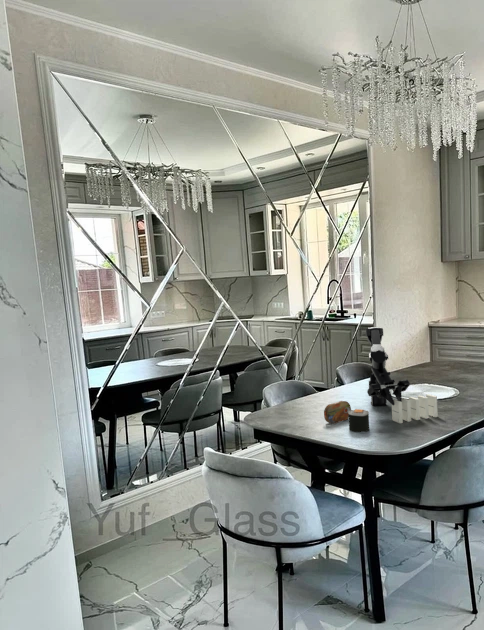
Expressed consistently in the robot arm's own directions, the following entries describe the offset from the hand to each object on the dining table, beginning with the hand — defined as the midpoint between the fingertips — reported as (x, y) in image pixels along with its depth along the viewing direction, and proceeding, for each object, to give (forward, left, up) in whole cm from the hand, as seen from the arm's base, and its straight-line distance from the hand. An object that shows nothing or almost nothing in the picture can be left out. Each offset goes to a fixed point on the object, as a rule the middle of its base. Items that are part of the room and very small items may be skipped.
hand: (397, 404), depth 205 cm
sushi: (-18, -8, -8) cm, 21 cm away
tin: (-25, +5, -8) cm, 27 cm away
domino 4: (+12, +6, -8) cm, 16 cm away
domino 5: (+16, +7, -8) cm, 20 cm away
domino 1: (0, +1, -8) cm, 8 cm away
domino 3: (+8, +4, -8) cm, 12 cm away
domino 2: (+4, +3, -8) cm, 9 cm away
